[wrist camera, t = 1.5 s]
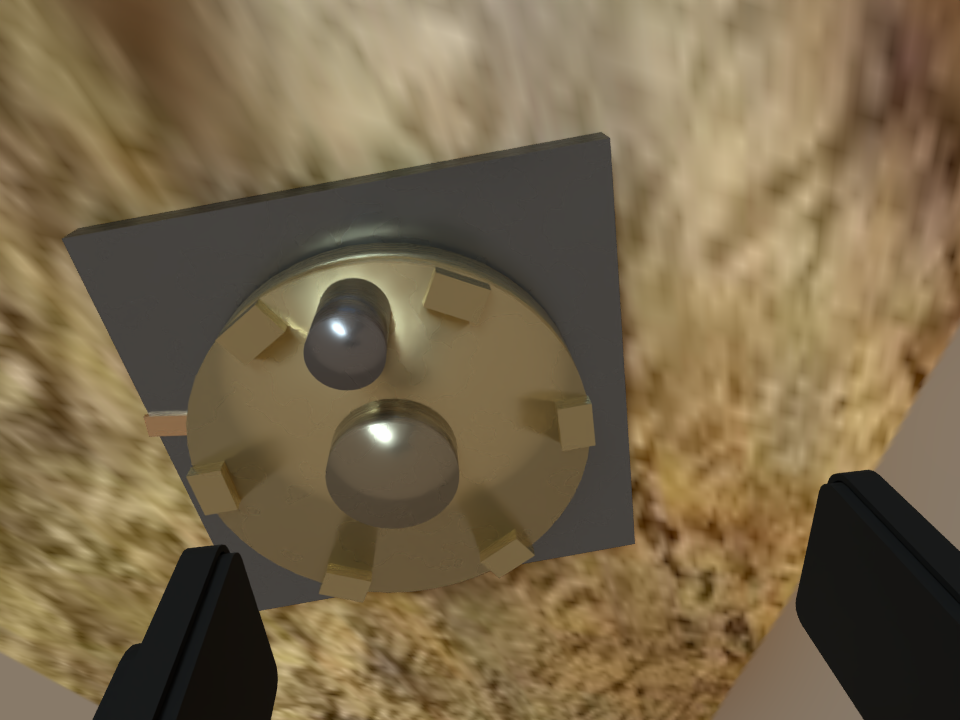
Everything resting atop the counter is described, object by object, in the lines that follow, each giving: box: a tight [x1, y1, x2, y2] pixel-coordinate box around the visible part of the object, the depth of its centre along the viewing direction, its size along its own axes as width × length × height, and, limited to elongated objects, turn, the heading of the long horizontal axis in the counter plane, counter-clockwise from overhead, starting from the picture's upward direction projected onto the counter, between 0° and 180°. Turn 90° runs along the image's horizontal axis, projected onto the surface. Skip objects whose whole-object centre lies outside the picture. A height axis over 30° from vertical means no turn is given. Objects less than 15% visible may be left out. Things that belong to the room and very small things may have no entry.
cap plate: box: [62, 132, 635, 611], centre depth 34 cm, size 24×24×2 cm
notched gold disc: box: [186, 243, 595, 602], centre depth 30 cm, size 19×19×7 cm
